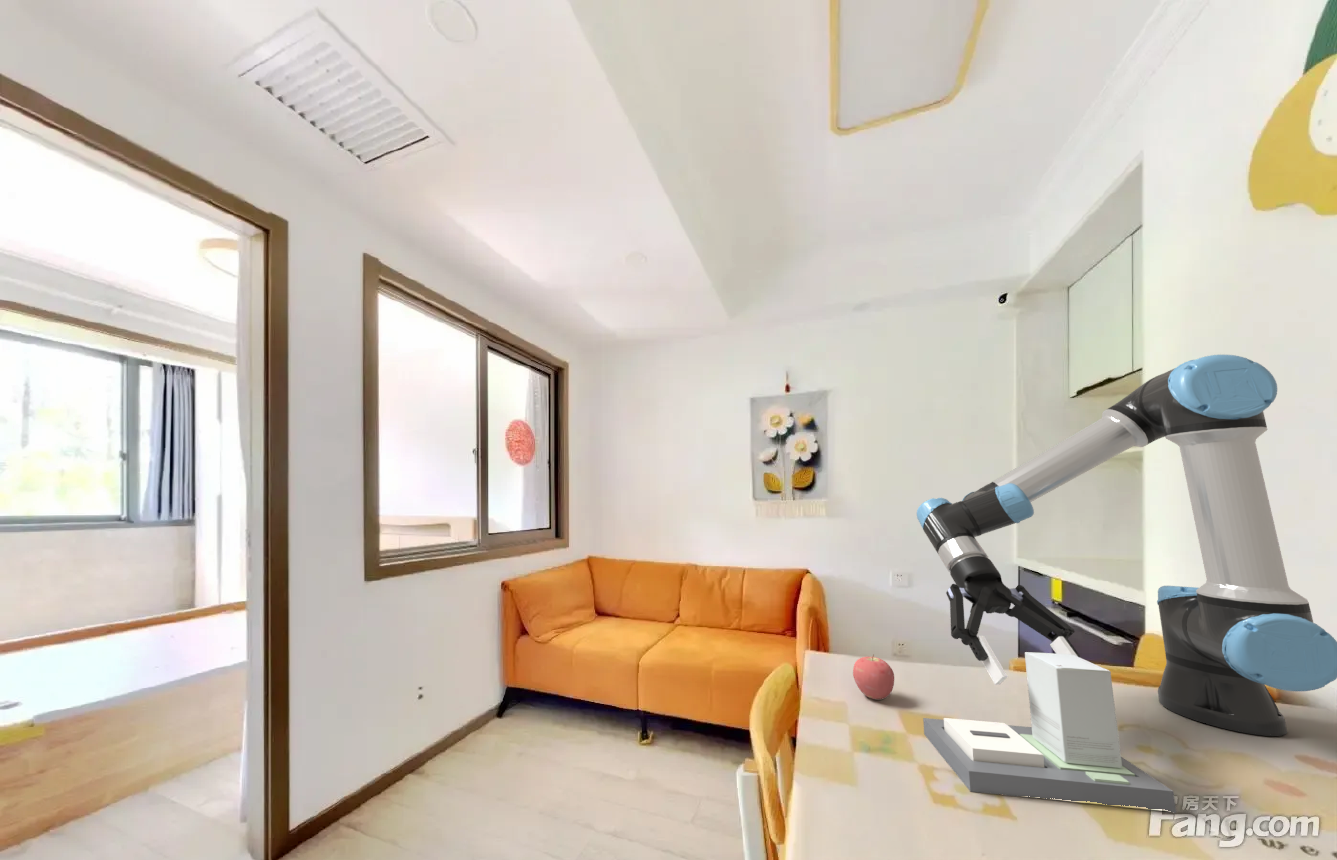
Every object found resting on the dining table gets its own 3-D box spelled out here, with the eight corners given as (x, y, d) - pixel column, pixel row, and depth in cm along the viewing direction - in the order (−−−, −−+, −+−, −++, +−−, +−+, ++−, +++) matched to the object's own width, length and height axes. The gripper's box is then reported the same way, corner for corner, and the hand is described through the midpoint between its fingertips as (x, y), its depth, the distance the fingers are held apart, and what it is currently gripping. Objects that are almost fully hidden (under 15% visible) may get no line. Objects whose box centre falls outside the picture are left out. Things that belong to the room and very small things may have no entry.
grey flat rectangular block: (1085, 748, 72) (1082, 720, 72) (1176, 813, 57) (1171, 776, 58) (924, 734, 75) (922, 707, 76) (970, 791, 60) (967, 757, 61)
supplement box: (1125, 770, 62) (1113, 671, 63) (1064, 764, 63) (1054, 667, 65) (1084, 741, 69) (1074, 653, 71) (1030, 736, 70) (1022, 650, 72)
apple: (864, 686, 94) (862, 645, 95) (901, 698, 89) (898, 655, 90) (847, 696, 89) (845, 653, 90) (885, 709, 84) (883, 664, 85)
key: (1085, 753, 69) (1084, 739, 69) (1136, 791, 60) (1134, 774, 61) (1020, 747, 70) (1019, 733, 71) (1061, 783, 62) (1060, 767, 62)
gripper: (1021, 578, 90) (1105, 692, 73) (899, 577, 89) (955, 691, 72) (1041, 555, 86) (1136, 670, 69) (913, 553, 85) (976, 668, 68)
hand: (1043, 681), depth 70 cm, fingers open, 13 cm apart
